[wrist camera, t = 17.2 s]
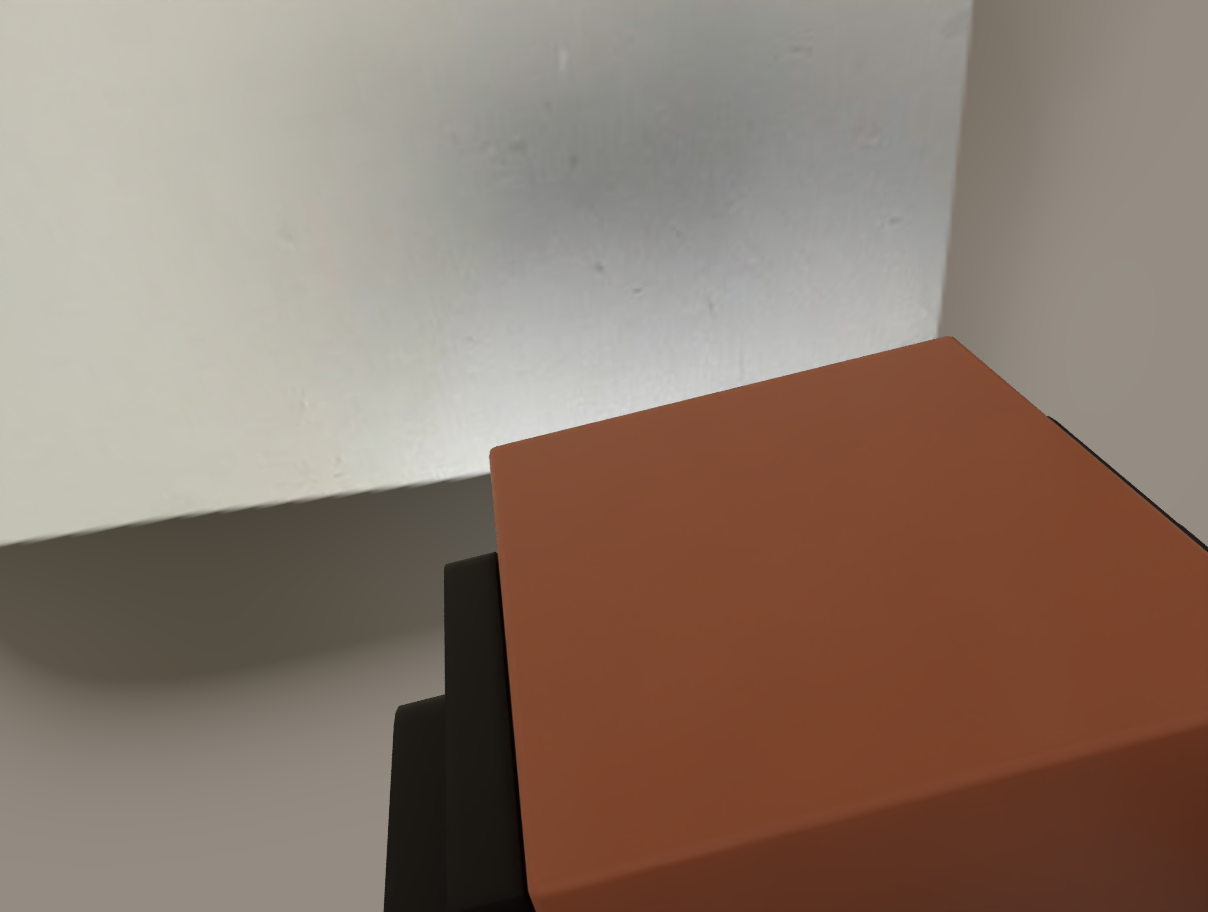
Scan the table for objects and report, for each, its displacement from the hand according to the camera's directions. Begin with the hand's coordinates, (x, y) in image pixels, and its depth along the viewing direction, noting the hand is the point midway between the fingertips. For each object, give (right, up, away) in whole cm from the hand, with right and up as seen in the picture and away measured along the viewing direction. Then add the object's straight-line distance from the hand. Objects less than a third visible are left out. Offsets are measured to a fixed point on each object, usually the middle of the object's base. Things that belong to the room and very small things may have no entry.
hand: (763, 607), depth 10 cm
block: (0, 0, +1) cm, 1 cm away
